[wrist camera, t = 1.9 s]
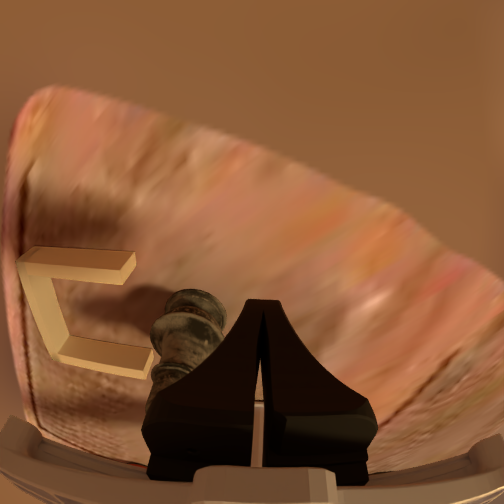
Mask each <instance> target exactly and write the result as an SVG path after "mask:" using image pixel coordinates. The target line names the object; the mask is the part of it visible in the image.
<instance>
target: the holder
mask: <svg viewBox="0 0 504 504" xmlns="http://www.w3.org/2000/svg"><path fill="white" fill-rule="evenodd" d="M15 262H16V266H17V269H18V273H19V276H20V279H21V282H22V285H23V288H24V291H25V294H26V297H27V300H28V303H29V305H30V308H31V311H32V314H33V316H34V319H35V321H36V324H37V326H38V329H39V331H40V334H41V336H42V338H43V341H44V343H45V345H46V347H47V350H48V352H49V354H50V356H51V358H52V360H55V361H58V362H62V363H66V364H70V365H74V366H78V367H83V368H87V369H92V370H96V371H101V372H106V373H111V374H116V375H121V376H127V377H133V378H138V379H145V380H146V377H147V375H148V372H149V369H150V367H151V364H152V361H153V359H154V355H153V351H152V349H151V348H143V347H136V346H129V345H122V344H116V343H110V342H104V341H98V340H93V339H87V338H82V337H77V336H72V335H69V332H68V329H67V327H66V324H65V321H64V318H63V315H62V312H61V309H60V306H59V303H58V300H57V297H56V294H55V290H54V287H53V284H52V280H51V278H59V279H68V280H77V281H87V282H96V283H107V284H117V285H123V284H124V282H125V281H126V279H127V278H128V277H129V275H130V274H131V272H132V271H133V270H134V268H135V267H136V258H135V252H132V251H113V250H95V249H77V248H59V247H41V246H33V247H32V248H31V249H29V250H28V251H27V252H26V253H24V254H23V255H22V256H21V257H20V258H18V259H17V260H16V261H15Z"/></svg>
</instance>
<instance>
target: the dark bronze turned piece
mask: <svg viewBox="0 0 504 504" xmlns="http://www.w3.org/2000/svg"><path fill="white" fill-rule="evenodd" d="M226 321H227V315H226V310H225V308H224V307H223V305H222V303H221V302H220V301H219V300H218V299H217V298H216V297H214V296H213V295H211V294H209V293H207V292H204V291H202V290H196V289H186V290H182V291H179V292H176V293H175V294H174V295H172V296H171V297H170V298H169V300H168V301H167V304H166V307H165V314H164V315H163V316H161V317H160V318H158V319H157V320H156V321H155V322H154V324H153V325H152V328H151V331H150V339H151V343H152V345H153V347H154V349H155V350H156V352H157V353H158V354H159V355H160V356H161V360H160V362H159V364H157V365H155V366H154V367H153V369H152V371H151V379H152V381H153V386H152V389H151V392H150V394H149V397H148V400H147V403H146V407H145V412H146V413H147V410H148V408H149V406H150V404H151V402H152V400H153V399H154V397H155V395H156V394H157V392H158V391H161V390H163V389H164V388H166V387H168V386H170V385H171V384H173V383H175V382H177V381H178V380H180V379H181V378H182V377H184V376H185V375H187V374H188V373H189V372H191V371H192V370H193V369H195V368H196V367H197V366H198V365H200V364H201V363H202V362H203V361H204V360H205V359H206V358H207V357H208V356H209V355H210V354H211V353H212V352H213V351H214V350H215V349H216V348H217V347H218V346H219V344H220V343H221V342H222V341H223V339H224V336H223V334H222V331H223V330H224V328H225V325H226Z"/></svg>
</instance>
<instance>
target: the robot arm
mask: <svg viewBox="0 0 504 504" xmlns="http://www.w3.org/2000/svg"><path fill="white" fill-rule="evenodd" d="M260 360H261V373H262V386H263V398H264V402H255V390H256V384H257V377H258V370H259V364H260ZM377 430H378V425H377V420H376V417H375V414H374V412H373V409H372V407H371V405H370V403H369V401H368V399H367V398H365V397H364V396H362V395H360V394H359V393H357V392H355V391H354V390H352V389H350V388H349V387H347V386H346V385H345V384H343V383H342V382H341V381H339V380H338V379H337V378H335V377H334V376H333V375H332V374H331V373H330V372H329V371H327V370H326V369H325V368H324V367H323V366H322V365H321V364H320V363H319V362H318V361H317V360H316V359H315V357H314V356H313V355H312V354H311V353H310V352H309V350H308V349H307V348H306V347H305V345H304V344H303V343H302V341H301V340H300V338H299V337H298V335H297V334H296V332H295V331H294V329H293V327H292V326H291V324H290V322H289V320H288V318H287V316H286V314H285V312H284V310H283V308H282V305H281V302H280V301H279V300H260V299H248V300H247V301H246V302H245V305H244V308H243V310H242V312H241V314H240V316H239V317H238V319H237V321H236V322H235V324H234V326H233V327H232V329H231V330H230V331H229V333H228V334H227V335H226V337H225V338H224V339H223V341H222V342H221V343H220V344H219V346H218V347H217V348H216V349H215V350H214V351H213V352H212V353H211V354H210V355H209V356H208V357H207V358H206V359H205V360H204V361H203V362H202V363H201V364H200V365H198V366H197V367H196V368H195V369H193V370H192V371H191V372H189V373H188V374H187V375H185V376H184V377H182V378H181V379H180V380H178V381H177V382H175V383H173V384H171V385H170V386H168V387H166V388H164V389H163V390H161V391H158V392H157V394H156V395H155V397H154V399H153V400H152V402H151V404H150V406H149V408H148V410H147V413H146V416H145V419H144V422H143V425H142V429H141V431H142V436H143V438H144V440H145V442H146V444H147V446H148V448H149V450H150V453H151V456H150V459H149V463H148V467H147V468H142V467H138V466H133V465H129V464H125V463H121V462H117V461H113V460H110V459H106V458H103V457H99V456H96V455H93V454H89V453H86V452H83V451H80V450H77V449H74V448H71V447H68V446H66V445H63V444H60V443H57V442H55V441H52V440H50V439H47V438H45V437H43V436H42V434H41V433H40V431H39V430H38V429H37V428H36V427H35V426H34V425H32V424H31V423H29V422H27V421H24V420H22V419H19V418H17V417H15V416H13V415H10V416H9V418H8V420H7V422H6V423H5V425H4V427H3V428H2V430H1V432H0V474H2V475H3V476H4V477H5V478H6V479H7V480H9V481H10V482H11V483H12V484H13V485H14V486H16V487H17V488H18V489H20V490H22V491H24V492H25V493H27V494H29V495H31V496H33V497H35V498H36V499H38V500H40V501H42V502H44V503H46V504H488V503H489V502H491V501H492V500H494V499H495V498H496V497H498V496H499V495H501V494H502V493H503V492H504V440H503V438H502V436H501V434H496V435H494V436H491V437H488V438H485V439H483V440H480V441H479V442H477V443H476V444H475V445H473V446H472V447H471V449H470V450H469V451H468V453H465V454H462V455H458V456H455V457H452V458H448V459H445V460H441V461H438V462H434V463H430V464H426V465H422V466H418V467H413V468H409V469H404V470H399V471H394V472H388V473H383V474H376V475H370V476H369V475H368V470H367V465H366V461H367V460H368V453H367V448H368V446H369V445H370V443H371V442H372V440H373V439H374V437H375V435H376V433H377Z"/></svg>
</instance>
